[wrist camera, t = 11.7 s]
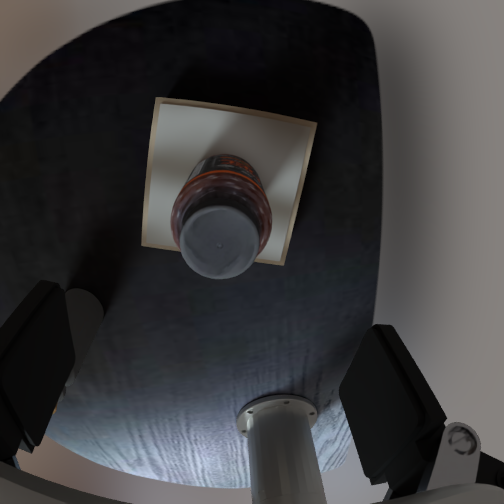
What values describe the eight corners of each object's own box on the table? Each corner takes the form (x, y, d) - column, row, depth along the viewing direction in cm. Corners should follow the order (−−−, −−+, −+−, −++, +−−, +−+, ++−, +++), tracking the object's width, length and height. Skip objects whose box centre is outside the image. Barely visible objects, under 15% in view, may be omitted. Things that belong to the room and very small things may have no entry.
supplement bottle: (274, 173, 26) (304, 222, 16) (238, 233, 28) (245, 313, 18) (207, 138, 24) (192, 164, 14) (175, 203, 26) (143, 269, 16)
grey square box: (277, 247, 33) (284, 267, 29) (151, 229, 32) (140, 247, 28) (306, 120, 28) (318, 123, 24) (165, 98, 26) (155, 97, 22)
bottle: (94, 285, 34) (40, 378, 20) (110, 325, 37) (72, 421, 23) (55, 289, 34) (-3, 374, 20) (73, 327, 37) (28, 415, 23)
